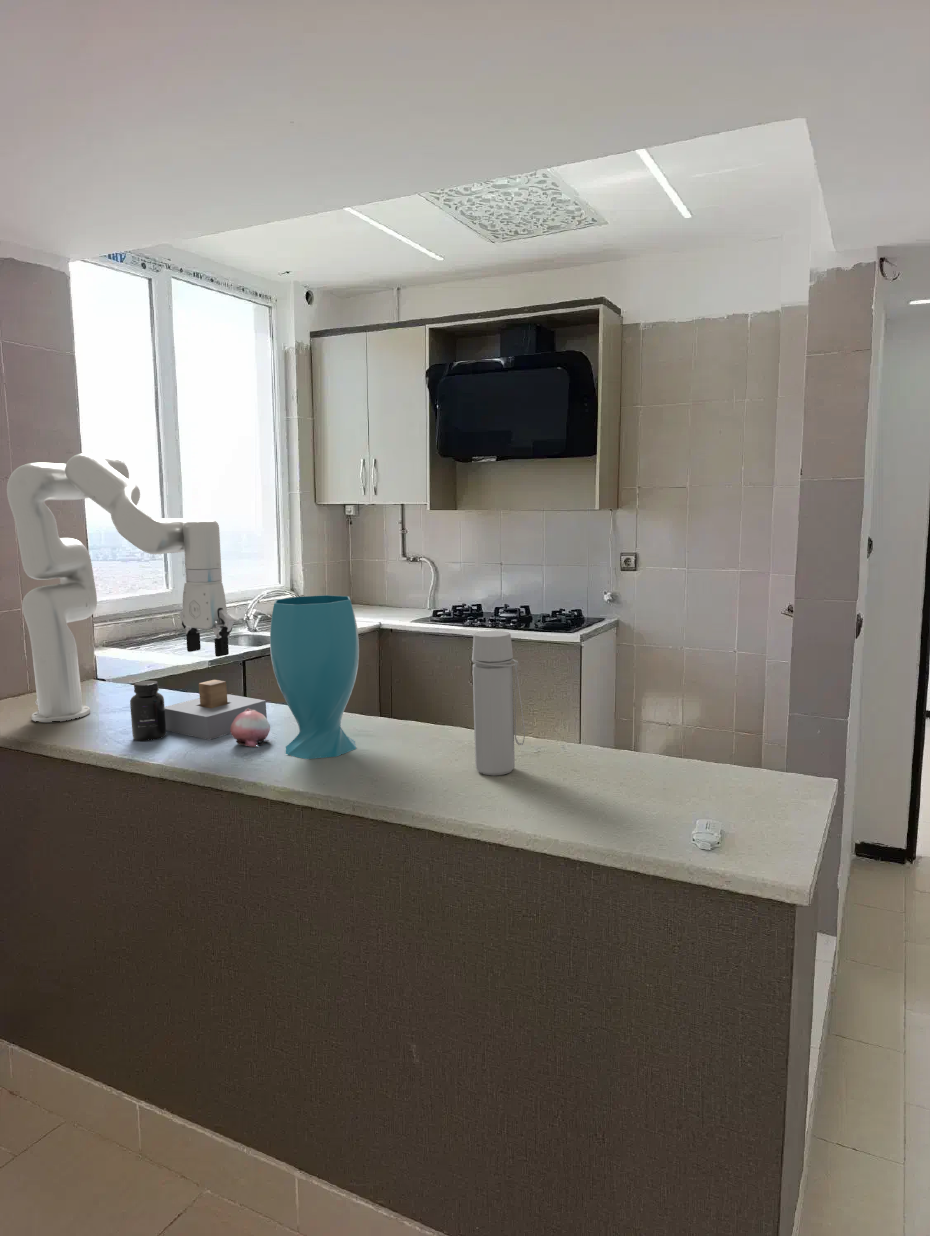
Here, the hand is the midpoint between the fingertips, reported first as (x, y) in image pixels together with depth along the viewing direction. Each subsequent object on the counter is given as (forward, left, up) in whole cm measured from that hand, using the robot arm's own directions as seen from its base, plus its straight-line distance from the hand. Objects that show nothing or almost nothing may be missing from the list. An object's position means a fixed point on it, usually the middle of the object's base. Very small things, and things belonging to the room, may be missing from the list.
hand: (207, 653), depth 179 cm
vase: (+34, 0, -17) cm, 38 cm away
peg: (+1, 0, -17) cm, 17 cm away
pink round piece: (+19, -5, -17) cm, 25 cm away
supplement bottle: (-5, -13, -17) cm, 22 cm away
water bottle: (+73, +6, -17) cm, 75 cm away
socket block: (+1, 0, -17) cm, 17 cm away
